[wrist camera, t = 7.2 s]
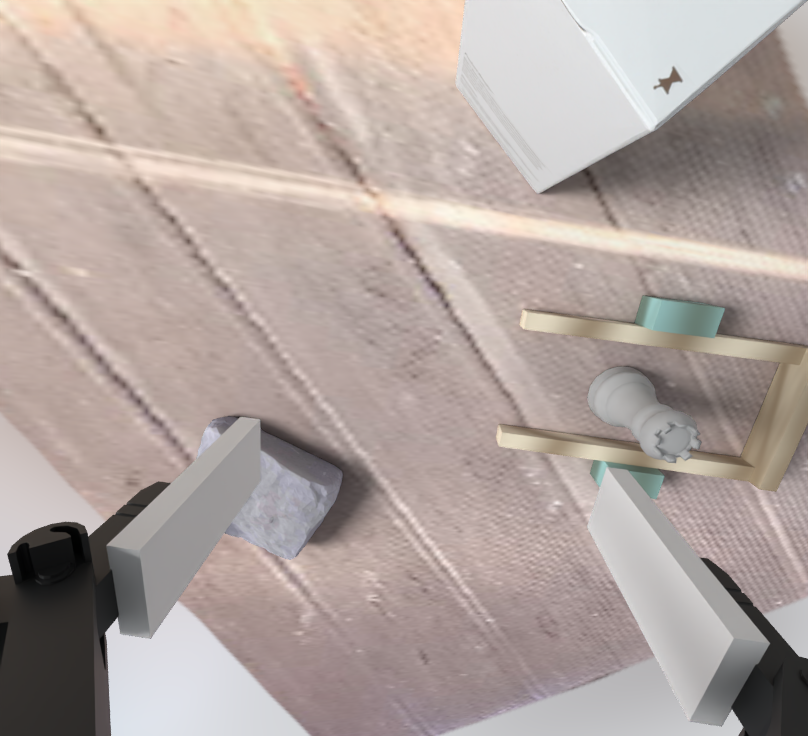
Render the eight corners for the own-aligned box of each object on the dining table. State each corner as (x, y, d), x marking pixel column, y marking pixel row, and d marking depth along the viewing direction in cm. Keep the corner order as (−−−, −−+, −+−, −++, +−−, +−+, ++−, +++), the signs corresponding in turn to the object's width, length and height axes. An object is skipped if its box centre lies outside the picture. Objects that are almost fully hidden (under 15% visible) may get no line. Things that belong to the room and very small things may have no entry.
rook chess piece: (575, 410, 31) (623, 466, 23) (599, 357, 29) (658, 398, 22) (630, 425, 31) (696, 486, 23) (656, 373, 30) (735, 419, 22)
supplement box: (657, 93, 25) (967, -119, 10) (536, 197, 27) (653, 143, 12) (571, -42, 23) (796, -513, 9) (449, 81, 25) (471, -134, 11)
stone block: (316, 532, 38) (354, 464, 34) (294, 577, 34) (334, 506, 29) (204, 476, 38) (227, 399, 33) (169, 514, 34) (188, 433, 29)
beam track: (491, 459, 33) (496, 476, 30) (528, 281, 28) (537, 284, 26) (740, 494, 32) (765, 514, 30) (817, 317, 28) (853, 324, 25)
